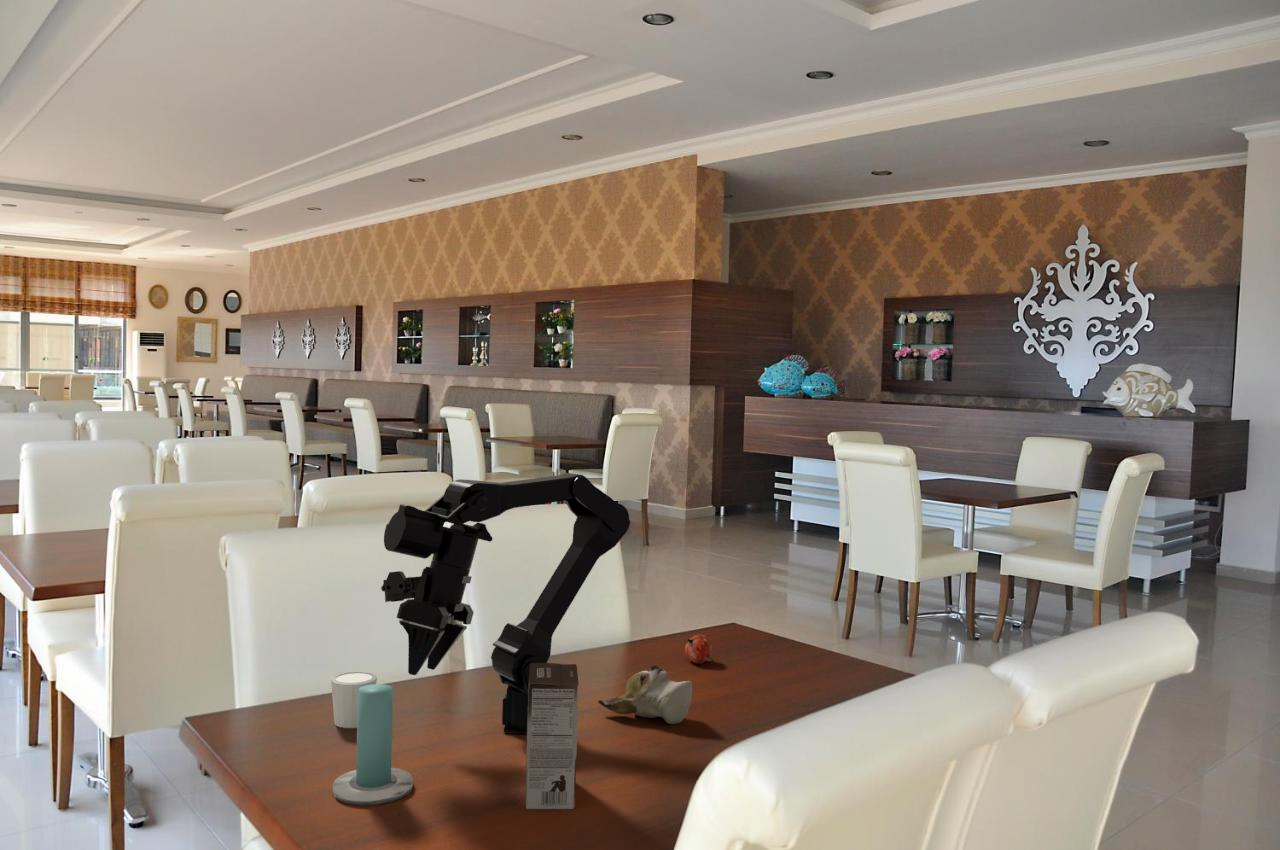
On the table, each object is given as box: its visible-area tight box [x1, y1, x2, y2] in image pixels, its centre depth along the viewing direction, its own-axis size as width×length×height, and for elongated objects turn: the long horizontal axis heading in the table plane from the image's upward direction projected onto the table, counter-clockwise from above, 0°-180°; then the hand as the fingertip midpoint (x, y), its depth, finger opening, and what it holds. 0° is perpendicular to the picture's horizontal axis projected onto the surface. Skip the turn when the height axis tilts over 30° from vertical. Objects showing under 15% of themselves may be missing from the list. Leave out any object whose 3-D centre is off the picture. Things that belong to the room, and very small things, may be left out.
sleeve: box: [355, 683, 394, 788], centre depth 127 cm, size 4×4×12 cm
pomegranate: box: [684, 634, 714, 665], centre depth 192 cm, size 6×6×8 cm
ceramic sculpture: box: [597, 665, 693, 725], centre depth 160 cm, size 11×9×15 cm
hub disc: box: [332, 766, 414, 806], centre depth 128 cm, size 10×10×1 cm
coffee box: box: [525, 662, 580, 810], centre depth 127 cm, size 9×6×16 cm
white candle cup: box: [330, 671, 378, 729], centre depth 153 cm, size 7×7×7 cm
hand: (421, 671), depth 141 cm, fingers open, 9 cm apart
